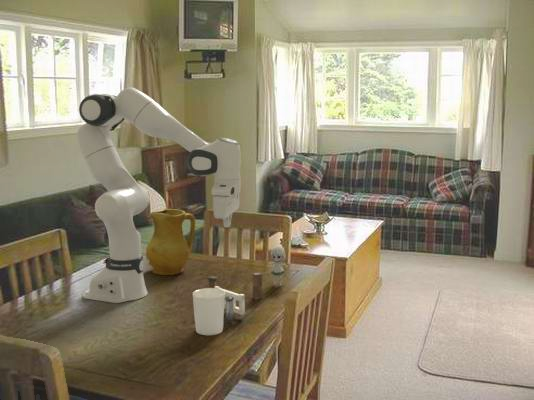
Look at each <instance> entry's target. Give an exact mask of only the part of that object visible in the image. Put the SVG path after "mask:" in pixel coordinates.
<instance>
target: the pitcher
mask: <svg viewBox="0 0 534 400" xmlns="http://www.w3.org/2000/svg"><path fill="white" fill-rule="evenodd" d="M148 216H149V217H150V218H151V220H152V222H153V223H154V224H153V225H154V228H153V229H154V230H153V234H152V237H151V238H150V240H149V242H148V244H147V246H146V252H145V256H146V259H147V260H148V262H149V263H148V265H149V266H151V267H152V268H153V270H152V274H154V275H155V274H156V275H161V276H174V275H179V274H181V273H183V272H184V268H183V267H184V266H186V264H187V263H188V261H189V260H190V259H189V258H190V255H191V252H192V249H193V245H194V239H195V233H196V232H195V231H196V217H195V216H194V215H193V214H192V213H187V212H186V211H185V210H181V209H175V208H164V209H163V210H159V211H153V212H151V213H149V215H148ZM187 219H188V220H189V221H190V229H189V235H188V240H187V239H186V237H185V235H184V231H183V223H184V221H186V220H187Z"/></svg>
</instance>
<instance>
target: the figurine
mask: <svg viewBox="0 0 534 400" xmlns="http://www.w3.org/2000/svg"><path fill="white" fill-rule="evenodd" d="M269 255H270V256H271V257H270V261H271V262H270V263H269V264H267V265H266V266H265V268H267V269H268V267H270V266H273V265H274V266H273V267H272V269H271V274H272V275H273V276H272V277H273V286H276V284H277V276H278V278H279V281H280V282H279V287H281V286H282V285H283V275H284V274H285V270H284V268H287V270H288V271H292V269H291V268H290V266H289V267H288V265H287V264H286V263H285V261H286V260H287V256H286V251H285V248H284V247H283V246H282V245H275V246H273V248H271V250H270V252H269ZM272 260H273V261H272ZM283 267H284V268H283Z"/></svg>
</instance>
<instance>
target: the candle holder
mask: <svg viewBox="0 0 534 400" xmlns="http://www.w3.org/2000/svg"><path fill="white" fill-rule="evenodd" d="M224 298H225V292H224V291H223V290H221V289H217V288H209V287H205V288H200V289H199V288H198V289H196V290H194V291H193V292H192V301H193V302H192V303H193V314H194V315H193V316H194V323H195V324H194V325H195V326H194V327H195V331H196V333H197V334H199V335H201V336H202V335H203V336H216V335H219V334H221V333H222V332H223V330H224V322H225V321H224V318H225V316H224V315H225V309H224Z"/></svg>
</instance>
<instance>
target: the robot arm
mask: <svg viewBox="0 0 534 400" xmlns="http://www.w3.org/2000/svg"><path fill="white" fill-rule="evenodd" d="M78 113H79V115H80V118H81V120H82V121H83V122H85V123H84V124H82V125H80V127H79V128H78V129H77V132H76V138H77V142H78V146H79V148H80V151H81V153H82V156H83V157H84V161H85V162H86V164H87V167H88V169H89V171H90V173H91V175H92V178H93V179H94V180H95V181H96V182H98V183H99V184H101V185H102V186H103V187H104V188H105V189H106V190H107V191H105V192H104V193H102V194H101V195H100V196H98V198H97V199H96V200H95V202H94V203H95V204H94V212H95V213H96V216H97V217H98V218H99V220H101V221H102V222H103V224H104V226H105V229H106V233H107V237H108V247H109V255H108V256H107V257H106V258H105V259H104V260H103V261H102V262H103V263H102V264H104V265H105V267H103V268H102V269H100V270H99V272H97V273H96V274H95V275H94V276H93V277H91V280H90V281H89V282H90V283H89V288H88V289H86V290H85V291H84V292H83V294H82V295H83V296H82V297H83V299H85V300H86V299H87V300H93V301H99V302H100V301H101V302H106V303H114V304H120V303H123V302H129V301H136V300H138V299H141V298H144V297H146V296H147V295H148V294H149V292H148V290H147V287H146V284H145V283H146V282H145V278H144V255H143V254H142V236H141V233H140V231H138V230H137V229H136V226H135V222H134V219H133V218H134V216H136V215H139V214H141V213H142V212H144V211H145V210H146V209H147V208H148V207H149V204H150V201H151V197H150V193H149V191H148V190H147V189H146V187H144V186H143V185H141V184H139V182H137V181H136V179H135V178H134V177H133V176H132V174H130V172H129V171H128V170H127V168H126V167H125V165H124V163H123V161H122V159H121V158H120V155H119V152H118V151H117V149H116V147H115V145H114V143H113V140H112V138H111V134H110V131H111V132H112V131H115V130H116V129H117V127H118V126H120V125H121V124H122V123H123V122H124V121H125V120H127V121H128V122H129V123H130V124H132V126H134V127H135V128H136V129H138V131H140V132H142V133H143V134H145V135H146V136H149V137H150V138H151V137H152V138H158V139H164V140H165V139H167V140H171V141H172V142H175V143H177V144H178V145H179V146H181V147H182V148H184V149H185V150H186V151H188V152H189V153H188V155H187V158H186V165H187V169H188V170H189V171H190V173H191V174H192V175H194V176H197V177H206V176H209V175H210V176H211V175H212V176H213V177H214V181H213V182H214V183H213V186H212V188H211V195H212V196H213V198H212V207H213V217H214V218H215V219H219V220H220V219H221V220H222V222H223V227H224V228H230V227H231V226H232V219H233V218H232V217H233V213H235V212H236V211H237V210H238V209H240V205H241V203H240V202H241V201H240V193H241V192H242V191H241V188H242V177H241V168H242V152H241V146H240V143H239V142H238V141H237V140H235V139H233V138H232V139H231V138H227V137H218V138H217V139H216V140H215V141H213V142H209V141H206V140H204V139H203V138H201V137H200V136H199V135H197V134H196V133H195V132H194V131H192V130H191V129H189V128H188V127H186V126H185V125H184V124H182V123H181V122H180V121H179V120H177V119H176V118H175V117H174V116H173V115H172V114H171V113H169V112H168V111H167V110H166V109H165V108H163V107H162V106H161V105H160V104H159V103H158V102H156V101H155V100H154V99H153V98H151V97H150V96H149V95H147V94H146V93H145V92H143V91H140V90H139V89H137V88H136V87H132V86H130V87H125V88H124V89H122V90H121V91H120V92H119V93H118V94H117V95H112V94H108V93H101V94H96V93H94V94H90V95H87V96H86V97H84V98H83V99H82V100H81V102H80V104H79V108H78Z"/></svg>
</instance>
